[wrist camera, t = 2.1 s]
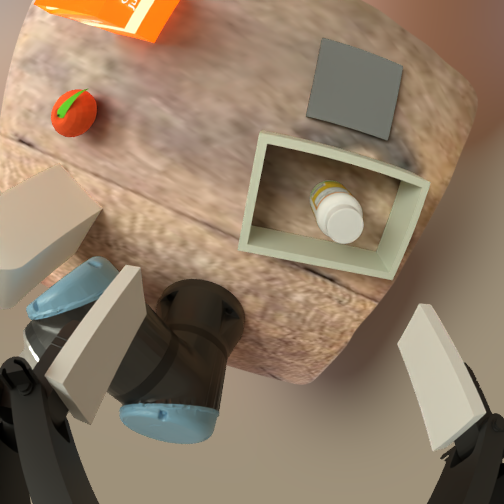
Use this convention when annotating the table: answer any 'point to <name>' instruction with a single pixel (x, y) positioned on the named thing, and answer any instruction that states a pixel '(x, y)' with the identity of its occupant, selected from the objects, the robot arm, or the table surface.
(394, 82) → the slate mat
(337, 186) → the supplement bottle
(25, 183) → the milk
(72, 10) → the orange juice
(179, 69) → the table surface
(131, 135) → the table surface
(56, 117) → the clementine
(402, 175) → the open box
